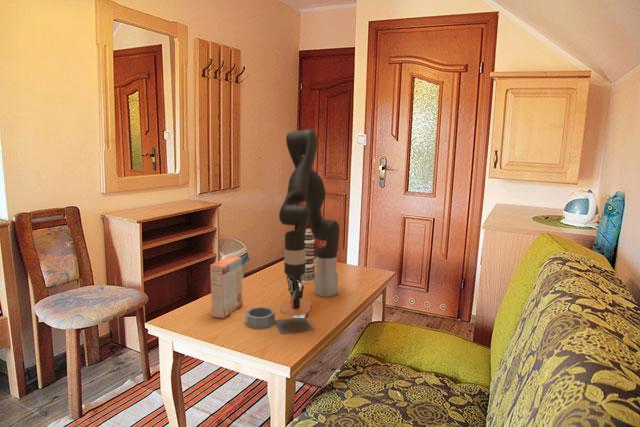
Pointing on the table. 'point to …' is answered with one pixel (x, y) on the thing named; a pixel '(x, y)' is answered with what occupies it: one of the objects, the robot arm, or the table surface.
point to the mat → (293, 325)
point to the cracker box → (226, 286)
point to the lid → (289, 309)
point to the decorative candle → (309, 257)
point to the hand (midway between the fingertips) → (295, 306)
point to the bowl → (260, 317)
